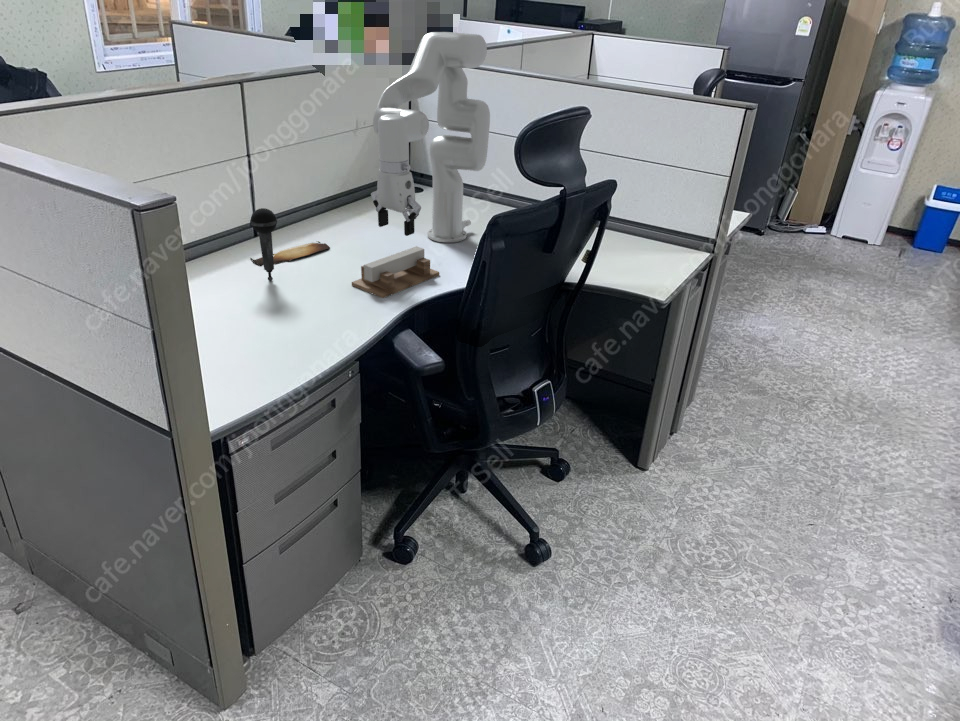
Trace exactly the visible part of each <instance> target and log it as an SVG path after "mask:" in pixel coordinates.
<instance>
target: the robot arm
mask: <svg viewBox="0 0 960 721" xmlns="http://www.w3.org/2000/svg"><path fill="white" fill-rule="evenodd" d="M487 50H488V47H487V42H486V39H485V38H484V37H483V36H482V35H481V34H477V33H475V34H474V33H465V32H463V33H462V32H450V31H431V32H428V33H425V35H423V37H422V38H421V40H420V41H419V45H418V47H417V50H416V52H415V54H414V57H413V59H412V61H411V65H410V67H409V69H408V72H407V73H406V74H404V75H403V76H402V77H399V78H398V79H396V80H395V81H394V82H393V83H392V84H390V85H389V86H387V88H386V89H385V90H384V91H383V92H382V93H381V95H380V97H379V100H378V102H377V104H376V107H375V110H374V113H373V118H372V127H373V130H374V132H375V133H376V134H377V135H378V136H377V137H378V138H377V139H378V156H379V158H378V159H379V160H378V161H379V169H378V173H377V184H376V188H377V189H376V190H375V191H372V192H371V193H370V195H371V196H370V197H371V199H372V201H373V202H372V203H373V205H374V207H375V211H376V212H377V219H378V220H377V222H378V227H380V228H381V227H385V226H387V225H389V210H391V211H394V212H397V213H401V214H402V215H403V217H404V219H405V220H404V222H403V223H404V224H403V227H404V228H403V232H404V233H403V234H404V236H406V237H407V236H411V235H413V234H415V221H416V219H417V217H419V215H420V213H421V212H420V211H421V209H422V206H421V205H420V204H419V203H418V202H417V201H416V193H415V192H416V191H415V190H416V189H415V184H414V178H413V173H412V172H411V171H410V170H411V169H412V168H411V167H412V166H411V165H410V145H409V143H411V142H418V141H420V140H422V139H423V138H425V136H426V135H427V134H428V132H429V129H430V128H429V126H430V123H429V122H430V121H429V118H428V116H427V115H426V114H425V113H424V112H423V111H421V110H416V109H407V108H401V107H400V106H402V105H404V104H406V103H408V102H412V101H415V100H419V99H421V98H422V99H423V98H426V97H428V96H430V95H432V94H433V93H435V92H436V91H437V89H438V94H437V108H436V123H437V125H438V127H440V128H441V129H442V130H445V131H449V132H457V133H468V134H470V136H471V137H467V136H466V137H464V136H457V135H450V134H449V135H446V134H441V135H438V136H435V137H433V138H432V140H431V142H430V144H429V156H430V164H431V170H432V171H431V174H432V175H431V176H432V208H431V209H432V212H431V213H432V217H431V218H432V221H431V222H432V224H431V225H432V226H431V229H428V231H427V238H429V239H430V240H432V241H434V242H438V243H449V244H450V243H459V242H462V241H464V240H465V239H467V236H468V234H467V231H465V228H466V227H469V226H470V225H471V224H472V222H471V220H470V219H466V220H463V209H464V207H463V204H464V202H463V201H464V180H463V178H462V176H461V174H460V172H459V170H461V171H468V172H469V171H470V172H479V171H482V170H483V169H484V168H485V166H486V162H487V157H488V151H489V150H488V149H489V137H490V124H491V112H490V111H491V110H490V108H489V105H488V104H487V102H486V101H483V100H480V99H474V98H468V84H469V83H468V82H469V81H468V78H467V74H466V73H465V71H464V69H474V68H479V67H480V66H482V65H483V64H484V62H485V60H486V58H487V52H488V51H487Z"/></svg>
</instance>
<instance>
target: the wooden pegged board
mask: <svg viewBox="0 0 960 721" xmlns="http://www.w3.org/2000/svg"><path fill="white" fill-rule="evenodd" d="M360 271H361V272H360V273H361V278H359V279H357V280H354V281H351V286H352V287H355V288H357V289H359V288H360V289H359V290H362V291H364V292H366V293H369V292H370V294H371V293H373V294H372V295H374V294H375V296H376V295H377V297H378V298H381V297H382V299H384V297H385V298H387V297H389V295H390V296H392V295H394V294H397V293H400V292H401V291H404V290H406V289H409V288H411V287H414V286H416V285H419V284H421V283H424V282H425V281H429V280H431V279H433V278H435V277H438V276H440V271H439V270H436V269H432V268H431V259H428V258H426V257H424V258H421V259H418V260H417V265H416V266H413V267H411V268H408V269H406V270H403V271H400V272H398V273H395V274H393V273H391V272H388V271H386V272H383V273H381V274H380V279H379V280H377V281H374V282H371V281H368V280H366V279H364V265H361V266H360ZM391 294H392V295H391Z"/></svg>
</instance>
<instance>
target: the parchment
mask: <svg viewBox="0 0 960 721" xmlns="http://www.w3.org/2000/svg"><path fill="white" fill-rule="evenodd" d="M328 249H331V247H330V246H329V245H328V244H327V243H325V242H324V243H321V242H320V241H317V240H316V242H309V243H305V244H301V245H296V246H292V247H289V248H286V249H285V248H284V249H282V250H279V251H277V253H273V260H274V266H275V265H278V264H281V263H289V262H290V261H292V260H294V259H298V258H302V257H306V256H310V255H312V254H315V253H318V252H321V251H325V250H328ZM249 258H250V260H251V261H252V263H253V264H254V263H255V264H256V265H258V266H259V267H263V266H264V265H263V258H262V257H259V258H256V259H254V258H252V257H249Z"/></svg>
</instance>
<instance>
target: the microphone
mask: <svg viewBox="0 0 960 721" xmlns="http://www.w3.org/2000/svg"><path fill="white" fill-rule="evenodd" d="M249 223H250V225H251V227H252V229H253V230H254V231H255V232H257V233H258V237H259V244H260V251H261V256H262V258H263V265H262V266H263V270H264V271H265V272H267V274H268V277H267V280H268V281H269V282H272V281H273V279H274V278H273V276H272V272H273V270H275V265H274V260H273V256H274V255H273V254H274V248H273V233H272V232H273V231H274V230H275V229H276V227H277V224H278V219H277V216H276V215H275V213H274V212H273V211H272V210H271V209H268V208H258V209H256V210H255V211H253V213H252V214H251V216H250V220H249Z"/></svg>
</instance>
